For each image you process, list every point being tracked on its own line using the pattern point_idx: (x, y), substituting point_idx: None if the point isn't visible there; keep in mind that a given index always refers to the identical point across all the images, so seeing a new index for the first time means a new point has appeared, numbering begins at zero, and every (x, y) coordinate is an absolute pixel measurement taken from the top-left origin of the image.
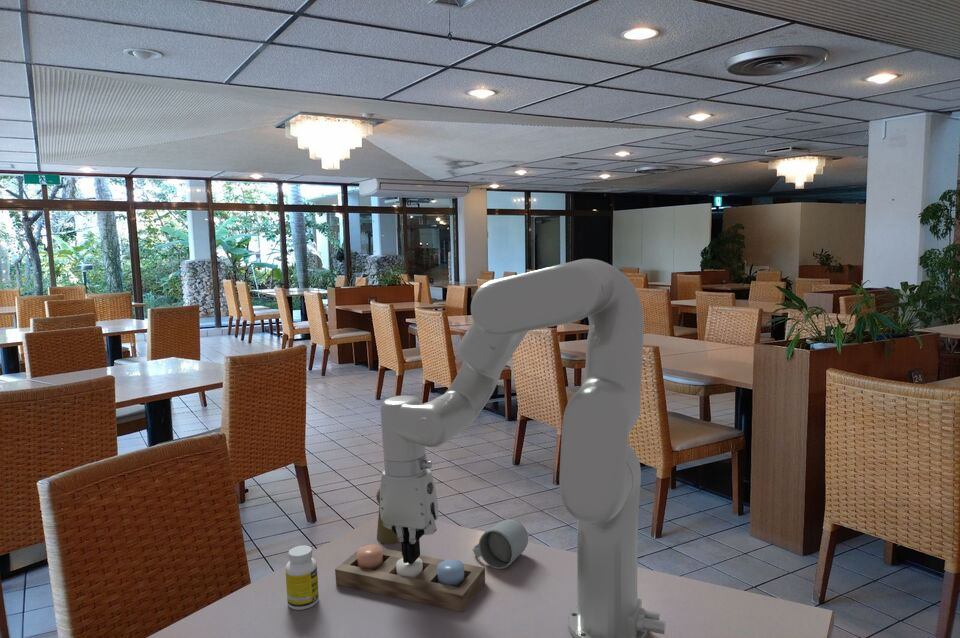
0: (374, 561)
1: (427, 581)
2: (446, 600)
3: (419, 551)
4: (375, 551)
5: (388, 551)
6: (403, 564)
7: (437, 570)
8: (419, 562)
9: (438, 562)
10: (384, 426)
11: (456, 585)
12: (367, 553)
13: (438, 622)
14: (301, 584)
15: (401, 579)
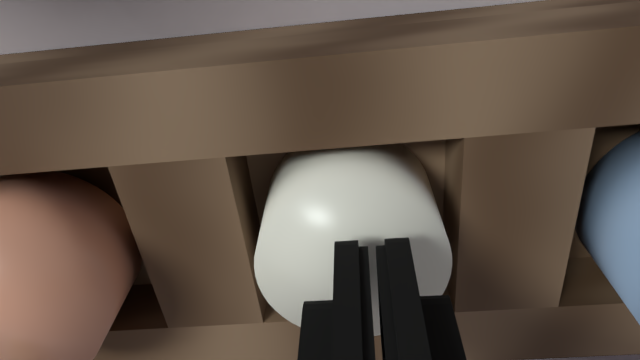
0: (113, 321)
1: (541, 310)
2: None
3: (453, 320)
4: (47, 313)
5: (30, 116)
6: (326, 299)
7: (625, 304)
8: (425, 243)
9: (528, 93)
10: None
11: None
12: (25, 346)
13: (624, 356)
14: None
15: (377, 343)
